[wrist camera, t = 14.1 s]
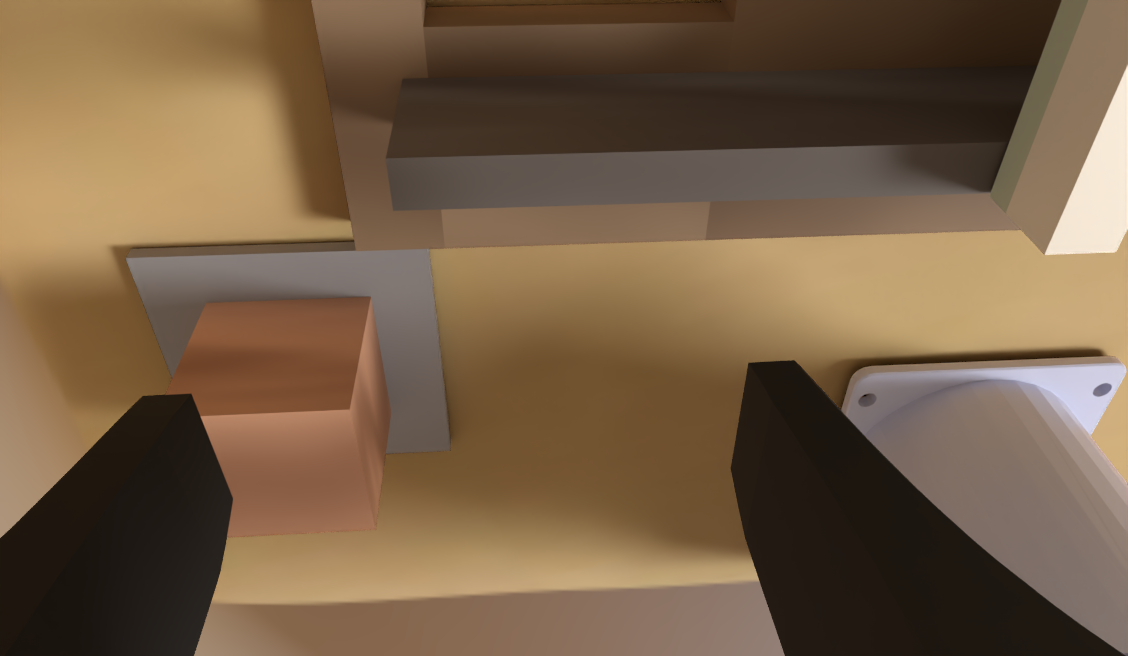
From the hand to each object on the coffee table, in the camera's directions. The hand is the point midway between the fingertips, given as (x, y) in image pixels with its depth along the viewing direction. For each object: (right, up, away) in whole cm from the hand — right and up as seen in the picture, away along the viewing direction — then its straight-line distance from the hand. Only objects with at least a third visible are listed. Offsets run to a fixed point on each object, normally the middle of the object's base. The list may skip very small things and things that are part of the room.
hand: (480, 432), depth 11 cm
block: (-6, +1, +11) cm, 12 cm away
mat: (-6, +1, +11) cm, 12 cm away
